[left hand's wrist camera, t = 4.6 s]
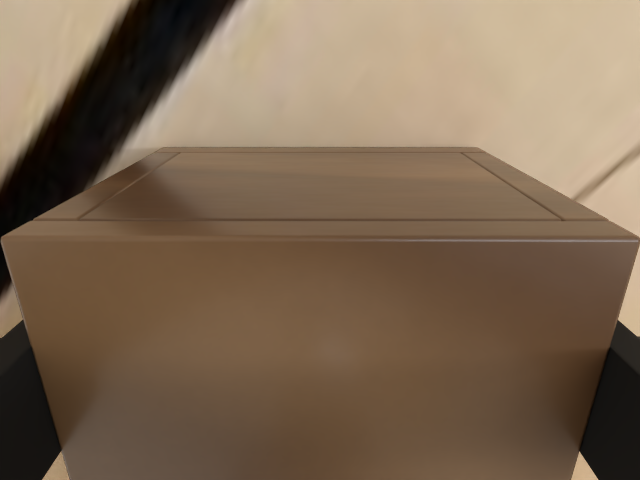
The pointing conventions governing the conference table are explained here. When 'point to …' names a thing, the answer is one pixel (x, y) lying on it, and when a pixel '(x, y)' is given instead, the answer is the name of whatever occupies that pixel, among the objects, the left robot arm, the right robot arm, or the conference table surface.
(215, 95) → the conference table surface
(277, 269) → the cabinet
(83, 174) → the conference table surface
